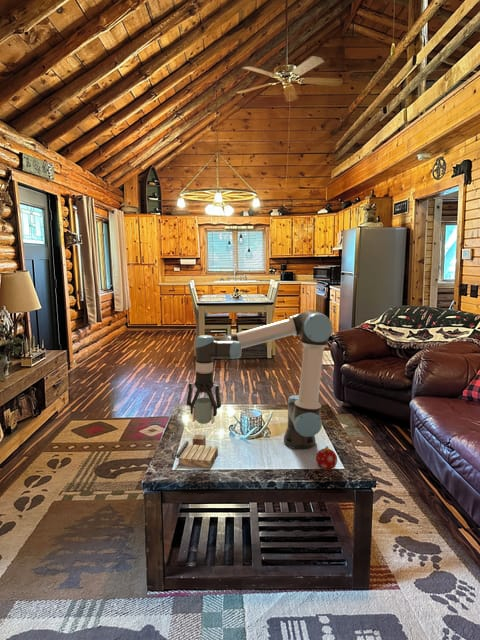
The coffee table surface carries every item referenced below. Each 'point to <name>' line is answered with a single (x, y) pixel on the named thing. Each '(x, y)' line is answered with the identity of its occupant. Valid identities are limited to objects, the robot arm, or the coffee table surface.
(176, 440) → the coffee table surface
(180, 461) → the pallet dock
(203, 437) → the crate
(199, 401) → the cup
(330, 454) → the christmas ornament
